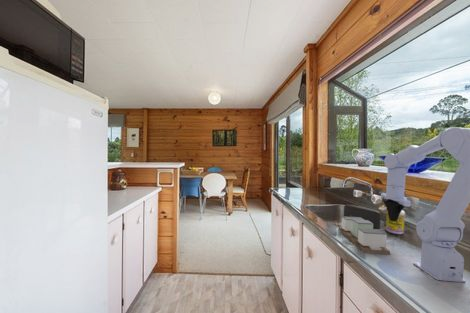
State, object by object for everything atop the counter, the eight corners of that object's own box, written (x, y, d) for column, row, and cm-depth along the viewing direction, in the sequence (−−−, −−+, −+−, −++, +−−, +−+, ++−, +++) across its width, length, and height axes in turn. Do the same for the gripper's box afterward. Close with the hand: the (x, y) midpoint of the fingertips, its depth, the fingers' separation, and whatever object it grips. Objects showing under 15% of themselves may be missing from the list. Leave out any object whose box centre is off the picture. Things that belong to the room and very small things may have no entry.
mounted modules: (386, 247, 80) (387, 233, 80) (363, 245, 81) (363, 232, 81) (359, 228, 100) (360, 217, 99) (341, 227, 100) (341, 216, 100)
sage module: (372, 238, 88) (373, 223, 88) (356, 237, 88) (357, 222, 88) (367, 234, 92) (368, 220, 92) (352, 233, 92) (352, 219, 92)
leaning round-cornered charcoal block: (382, 231, 103) (383, 210, 102) (378, 233, 100) (380, 212, 100) (346, 221, 115) (347, 203, 115) (342, 222, 112) (343, 204, 112)
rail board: (389, 254, 79) (390, 249, 79) (363, 252, 80) (363, 247, 80) (359, 231, 101) (359, 227, 101) (338, 229, 102) (338, 226, 101)
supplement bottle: (385, 232, 102) (387, 204, 101) (386, 228, 107) (387, 201, 106) (403, 235, 98) (405, 206, 97) (403, 231, 103) (405, 204, 102)
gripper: (420, 189, 78) (418, 227, 79) (394, 183, 93) (391, 215, 93) (400, 188, 79) (397, 226, 79) (376, 182, 93) (374, 214, 94)
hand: (393, 220), depth 86 cm, fingers closed
